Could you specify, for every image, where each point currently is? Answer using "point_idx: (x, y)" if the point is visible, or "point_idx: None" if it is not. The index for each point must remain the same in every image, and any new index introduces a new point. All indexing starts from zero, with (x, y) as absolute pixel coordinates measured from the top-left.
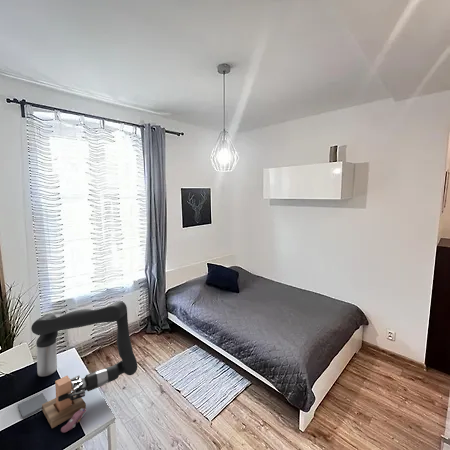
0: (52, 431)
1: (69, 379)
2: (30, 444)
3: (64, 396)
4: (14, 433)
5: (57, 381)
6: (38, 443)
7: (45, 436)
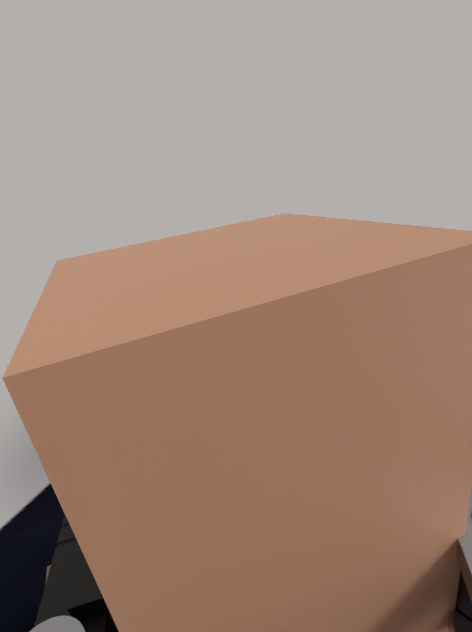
0: (31, 626)
1: (173, 319)
2: (47, 490)
3: (66, 553)
4: None
5: (248, 224)
6: (6, 536)
7: (28, 571)
